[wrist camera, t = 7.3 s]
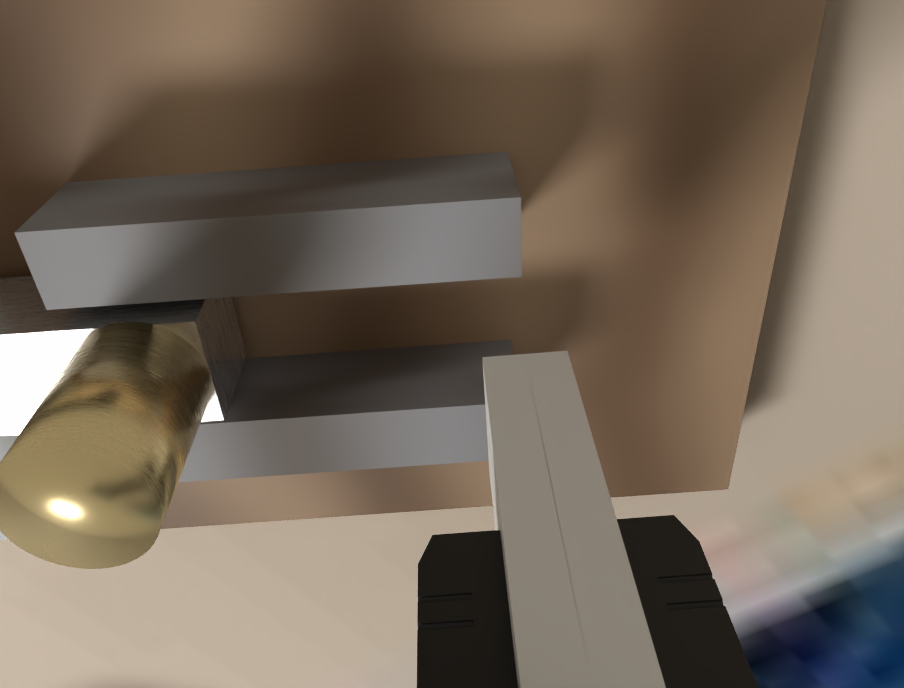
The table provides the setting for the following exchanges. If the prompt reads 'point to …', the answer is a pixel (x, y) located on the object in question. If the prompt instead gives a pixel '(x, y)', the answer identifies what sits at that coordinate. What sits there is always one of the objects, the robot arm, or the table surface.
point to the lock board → (457, 77)
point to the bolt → (104, 417)
